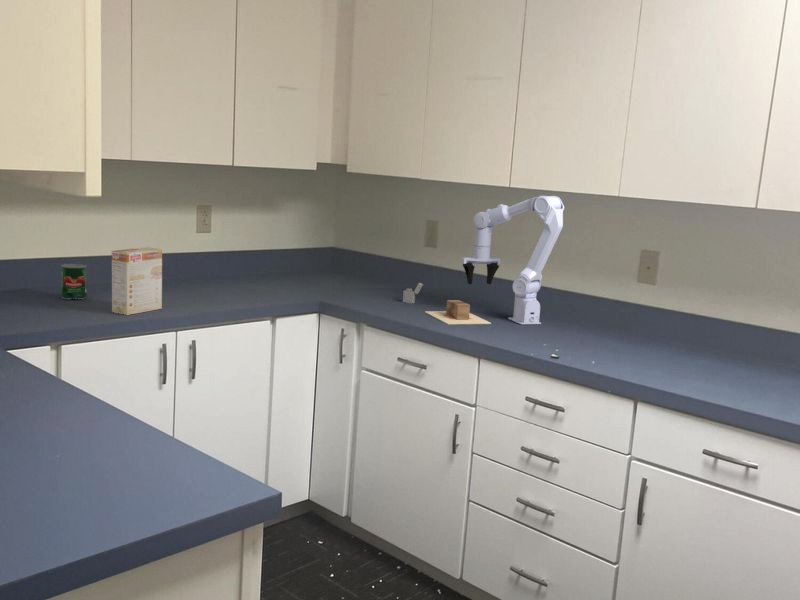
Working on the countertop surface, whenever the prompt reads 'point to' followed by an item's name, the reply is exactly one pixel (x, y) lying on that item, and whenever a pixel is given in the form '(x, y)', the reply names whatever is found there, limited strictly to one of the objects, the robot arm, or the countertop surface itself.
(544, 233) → the robot arm
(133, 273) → the coffeecake box
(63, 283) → the canned tomato
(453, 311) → the walnut block
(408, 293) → the lighter
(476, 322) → the mat
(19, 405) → the countertop surface
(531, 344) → the countertop surface
